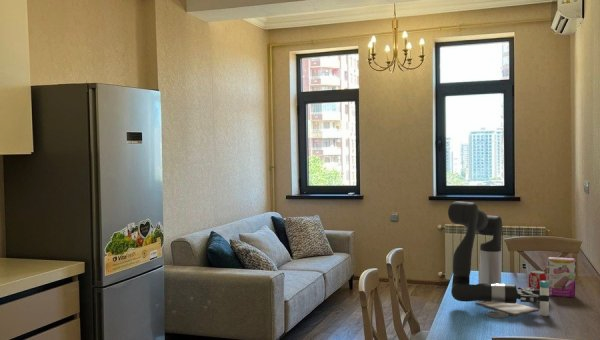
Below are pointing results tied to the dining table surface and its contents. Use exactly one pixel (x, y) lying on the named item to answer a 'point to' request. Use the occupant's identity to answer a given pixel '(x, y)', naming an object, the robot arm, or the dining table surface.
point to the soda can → (536, 279)
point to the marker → (543, 304)
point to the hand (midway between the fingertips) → (547, 295)
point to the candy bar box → (561, 276)
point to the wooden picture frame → (508, 307)
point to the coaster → (497, 314)
